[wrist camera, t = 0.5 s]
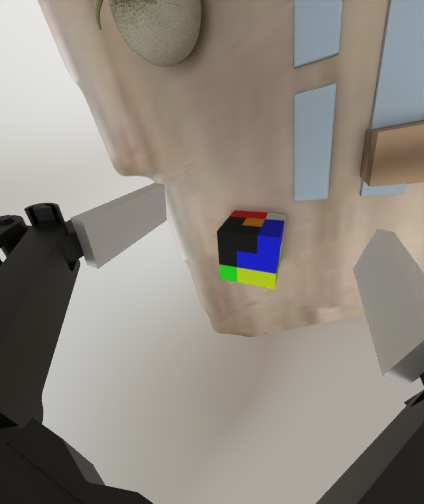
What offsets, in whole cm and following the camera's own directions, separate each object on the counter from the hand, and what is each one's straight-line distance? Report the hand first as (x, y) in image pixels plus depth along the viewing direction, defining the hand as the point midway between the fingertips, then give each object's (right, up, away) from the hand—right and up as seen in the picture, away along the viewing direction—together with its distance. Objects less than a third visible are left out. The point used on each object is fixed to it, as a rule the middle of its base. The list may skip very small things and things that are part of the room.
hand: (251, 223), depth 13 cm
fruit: (-7, +31, +17) cm, 37 cm away
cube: (+21, +12, +14) cm, 28 cm away
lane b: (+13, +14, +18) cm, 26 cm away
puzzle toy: (+7, +2, +29) cm, 30 cm away
